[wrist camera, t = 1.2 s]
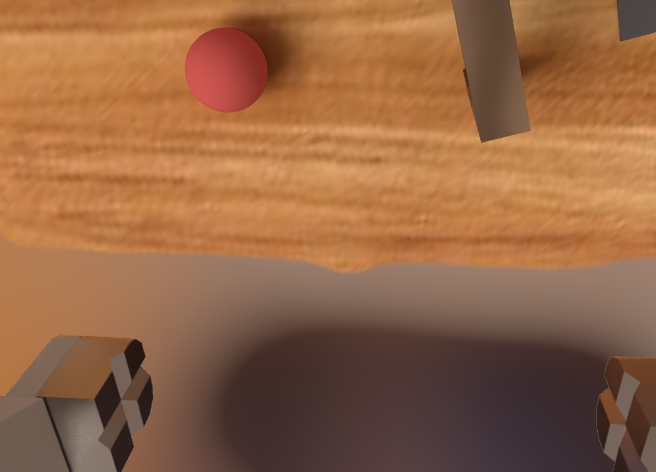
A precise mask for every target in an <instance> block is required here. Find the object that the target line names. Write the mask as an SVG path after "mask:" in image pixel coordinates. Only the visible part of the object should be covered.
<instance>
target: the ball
mask: <svg viewBox="0 0 656 472" xmlns="http://www.w3.org/2000/svg"><path fill="white" fill-rule="evenodd" d="M185 74H186V79H187V83H188V85H189V87H190V89H191V91H192V93H193V94H194V95H195V97H196V98H197V99H198V100H199V101H200V102H201V103H203V104H204V105H205V106H207V107H209V108H211V109H213V110H216V111H220V112H236V111H240V110H243V109H245V108H247V107H249V106H250V105H252V104H253V103H254V102H255V101H256V100H257V99H258V98H259V97H260V95H261V94H262V92H263V90H264V88H265V85H266V82H267V75H268V69H267V62H266V58H265V56H264V53H263V51H262V50H261V48H260V47H259V45H258V44H257V43H256V42H255V41H254V40H253V39H252V38H251V37H250V36H248V35H247V34H245V33H244V32H241V31H239V30H236V29H232V28H217V29H213V30H210V31H208V32H206V33H204V34H203V35H201V36H200V37H199V38H198V39H197V40H196V41H195V42H194V43H193V44H192V46H191V47H190V49H189V52H188V54H187V57H186V62H185Z"/></svg>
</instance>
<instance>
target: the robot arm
mask: <svg viewBox="0 0 656 472" xmlns="http://www.w3.org/2000/svg"><path fill="white" fill-rule="evenodd" d="M145 357H146V356H145V353H144V349H143V346H142V342H140V341H138V340H137V339H129V338H128V339H127V338H112V337H96V336H85V337H84V336H71V335H59V336H56V337H54V338H52V340H51V341H50V342H49V343H48V344H47V346H46V347H45V348H44V349H43V350H42V352H41V353H40V354H39V355H38V356H37V358H36V359H35V360H34V361H33V363H32V364H31V365H30V366H29V368H28V369H27V370H26V371H25V372H24V374H23V375H22V376H21V377H20V379H19V380H18V381H17V382H16V383H15V385H14V386H13V387H12V388H11V389H10V391H9V392H8V393H7V394H6V396H0V472H122V470H123V468H124V466H125V464H126V462H127V460H128V458H129V456H130V454H131V452H132V450H133V448H134V445H133V441H132V437H131V436H132V435H133V434H135V433H136V432H138V431H139V430H140V429H142V428H143V427H144V425H145V424H146V421H147V419H148V417H149V415H150V411H151V406H152V401H153V385H152V381H151V376H150V375H149V374H148V373H147V372H146V371H145V370H144V369H143V368H142V367H141V364H142V362H143V360H144V359H145ZM604 376H605V379H606V381H607V383H608V386H609V388H608V389H606V390H605V391H604V392H603V393H602V394H600V395H599V399H598V404H597V410H596V415H597V416H596V421H597V431H598V436H599V440H600V443H601V446H602V449H603V452H604V453H605V454H607V455H608V456H609V457H610V458H611V459H612V460H614V461H615V465H614V469H613V472H656V358H644V357H611V358H610V359H609V361H608V362H607V365H606V369H605V373H604Z"/></svg>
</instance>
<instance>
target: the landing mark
mask: <svg viewBox="0 0 656 472" xmlns="http://www.w3.org/2000/svg"><path fill="white" fill-rule="evenodd" d="M617 6H618V18H619V31H620V41H624V40H628V39H631V38H635V37H639V36H643V35H646V34H650V33H654V32H656V0H617Z"/></svg>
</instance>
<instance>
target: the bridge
mask: <svg viewBox="0 0 656 472" xmlns="http://www.w3.org/2000/svg"><path fill="white" fill-rule="evenodd" d="M452 4H453V9H454V14H455V19H456V24H457V29H458V34H459V39H460V43H461V48H462V53H463V58H464V63H465V68H466V69H464V70H463V72H464V77H465V82H466V87H467V91H468V96H469V99H470V103H471V107H472V110H473V114H474V118H475V121H476V125H477V129H478V132H479V136H480V140H481V143H482V142H486V141H490V140H494V139H498V138H502V137H506V136H511V135H515V134H519V133H523V132H527V131H530V125H529V118H528V112H527V106H526V100H525V94H524V87H523V81H522V75H521V69H520V63H519V56H518V50H517V44H516V38H515V32H514V25H513V19H512V13H511V7H510V1H509V0H452Z"/></svg>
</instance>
